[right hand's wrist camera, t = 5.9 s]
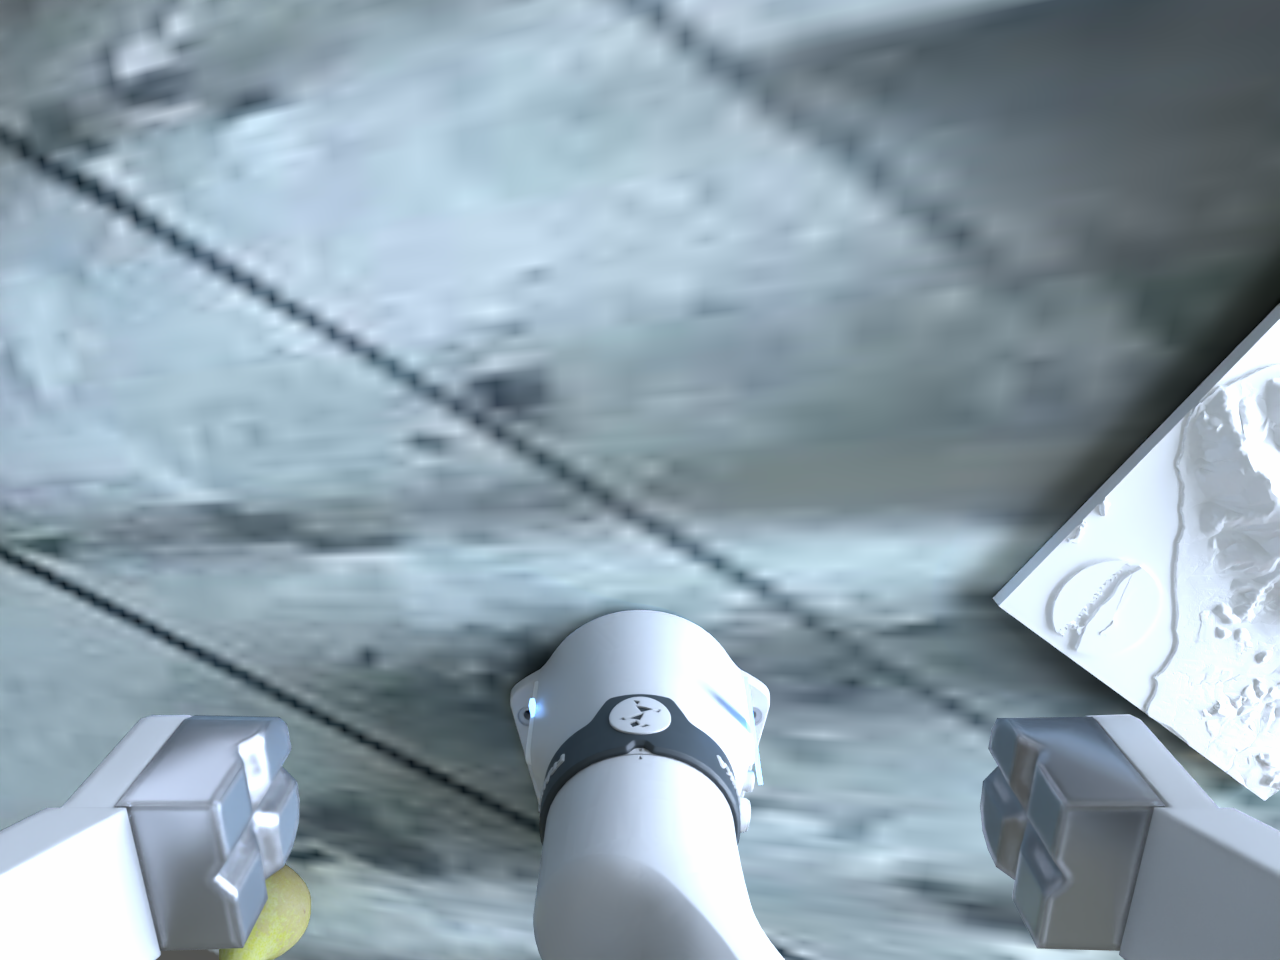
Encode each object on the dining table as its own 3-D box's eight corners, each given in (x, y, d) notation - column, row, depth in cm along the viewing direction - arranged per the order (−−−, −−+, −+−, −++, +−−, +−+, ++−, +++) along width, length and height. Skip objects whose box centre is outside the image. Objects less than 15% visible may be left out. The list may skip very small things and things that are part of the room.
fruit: (295, 831, 70) (229, 961, 59) (342, 900, 72) (287, 1039, 61) (221, 857, 71) (141, 990, 60) (269, 925, 73) (202, 1066, 62)
